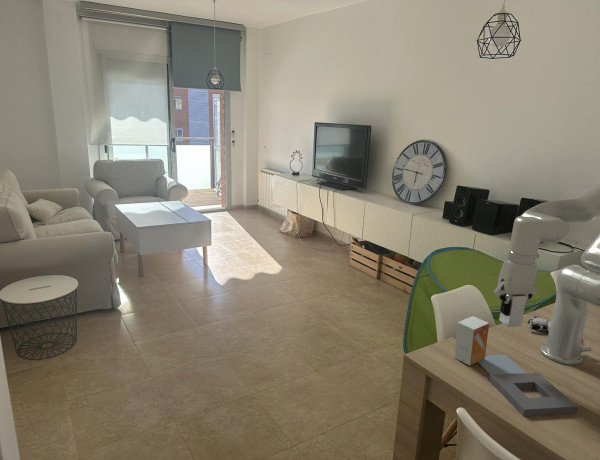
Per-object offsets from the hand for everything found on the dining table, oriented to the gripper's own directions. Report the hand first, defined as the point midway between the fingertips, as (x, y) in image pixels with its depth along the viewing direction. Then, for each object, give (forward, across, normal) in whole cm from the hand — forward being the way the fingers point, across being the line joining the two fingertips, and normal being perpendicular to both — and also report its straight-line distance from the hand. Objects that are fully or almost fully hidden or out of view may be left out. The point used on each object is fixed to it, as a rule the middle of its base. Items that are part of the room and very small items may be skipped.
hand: (511, 313), depth 133 cm
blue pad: (+19, 0, -1) cm, 19 cm away
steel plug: (+3, 0, 0) cm, 3 cm away
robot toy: (+20, -34, -21) cm, 45 cm away
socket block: (+19, +1, +14) cm, 24 cm away
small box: (+19, +8, -6) cm, 21 cm away
